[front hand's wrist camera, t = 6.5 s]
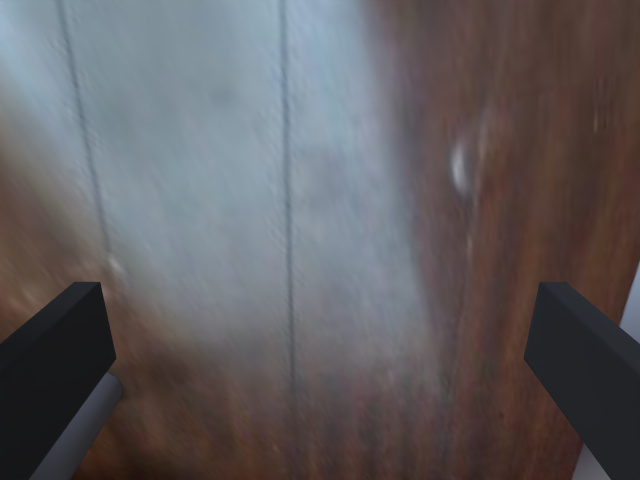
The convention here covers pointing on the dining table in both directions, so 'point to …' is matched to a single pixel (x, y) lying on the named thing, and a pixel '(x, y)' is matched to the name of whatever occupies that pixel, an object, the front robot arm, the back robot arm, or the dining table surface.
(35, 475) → the bottle
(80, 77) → the dining table surface
